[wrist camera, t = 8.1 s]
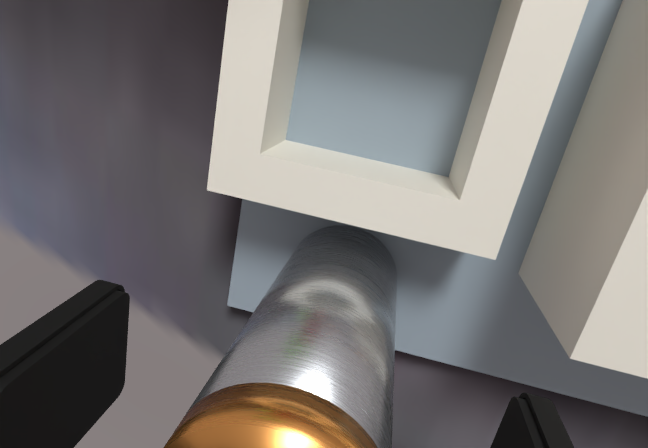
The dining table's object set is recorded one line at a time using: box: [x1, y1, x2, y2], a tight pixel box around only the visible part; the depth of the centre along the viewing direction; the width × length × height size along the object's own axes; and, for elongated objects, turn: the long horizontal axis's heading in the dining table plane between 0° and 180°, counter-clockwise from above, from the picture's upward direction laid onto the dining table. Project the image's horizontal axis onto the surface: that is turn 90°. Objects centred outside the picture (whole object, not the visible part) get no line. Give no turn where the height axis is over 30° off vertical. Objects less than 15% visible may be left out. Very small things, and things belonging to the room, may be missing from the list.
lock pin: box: [164, 225, 397, 448], centre depth 12 cm, size 4×4×10 cm
